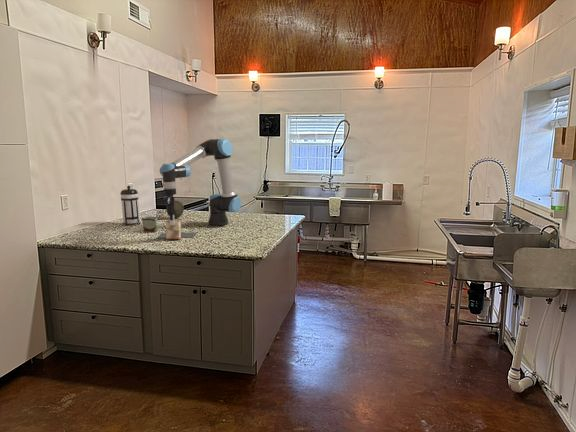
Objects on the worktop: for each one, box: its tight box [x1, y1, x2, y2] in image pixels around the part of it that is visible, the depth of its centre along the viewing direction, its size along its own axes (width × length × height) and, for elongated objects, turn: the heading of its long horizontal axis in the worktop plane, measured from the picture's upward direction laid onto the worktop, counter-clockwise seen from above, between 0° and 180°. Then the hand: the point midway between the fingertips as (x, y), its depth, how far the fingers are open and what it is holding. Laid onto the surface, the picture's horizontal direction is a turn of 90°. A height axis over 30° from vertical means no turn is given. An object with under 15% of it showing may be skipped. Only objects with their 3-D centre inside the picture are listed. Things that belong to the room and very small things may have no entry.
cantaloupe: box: [165, 200, 185, 219], centre depth 334 cm, size 14×14×15 cm
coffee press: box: [119, 185, 141, 227], centre depth 311 cm, size 17×16×30 cm
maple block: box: [165, 219, 182, 240], centre depth 262 cm, size 8×6×12 cm
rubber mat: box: [156, 231, 198, 240], centre depth 273 cm, size 24×14×1 cm, turn 94°
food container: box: [140, 216, 158, 234], centre depth 288 cm, size 12×6×10 cm, turn 71°
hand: (172, 224), depth 259 cm, fingers closed
